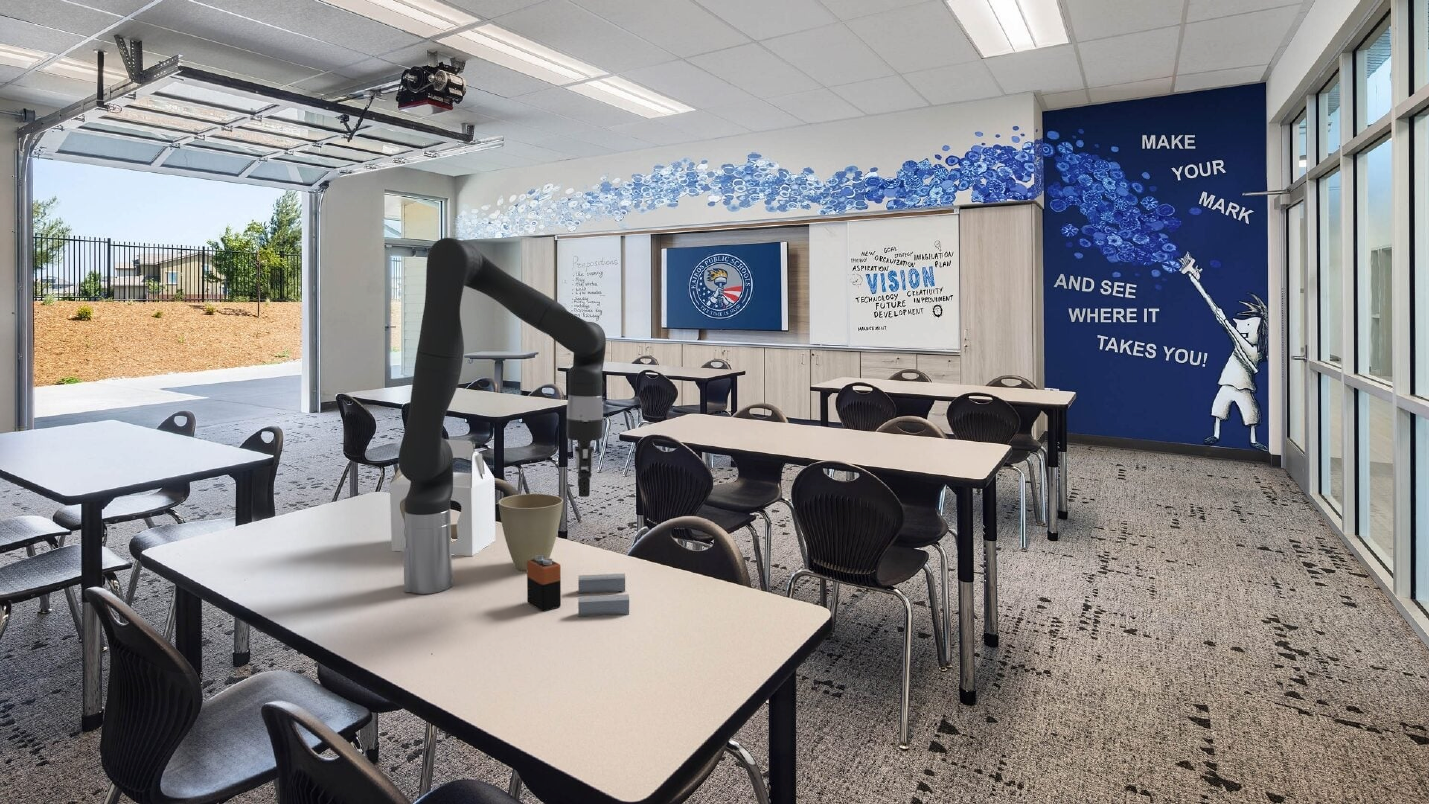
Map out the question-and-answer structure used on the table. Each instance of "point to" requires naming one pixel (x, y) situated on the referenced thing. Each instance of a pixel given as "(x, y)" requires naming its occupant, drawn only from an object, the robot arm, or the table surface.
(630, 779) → the table surface
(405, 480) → the gable box
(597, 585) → the housing
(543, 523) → the plant pot
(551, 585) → the battery
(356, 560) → the table surface
